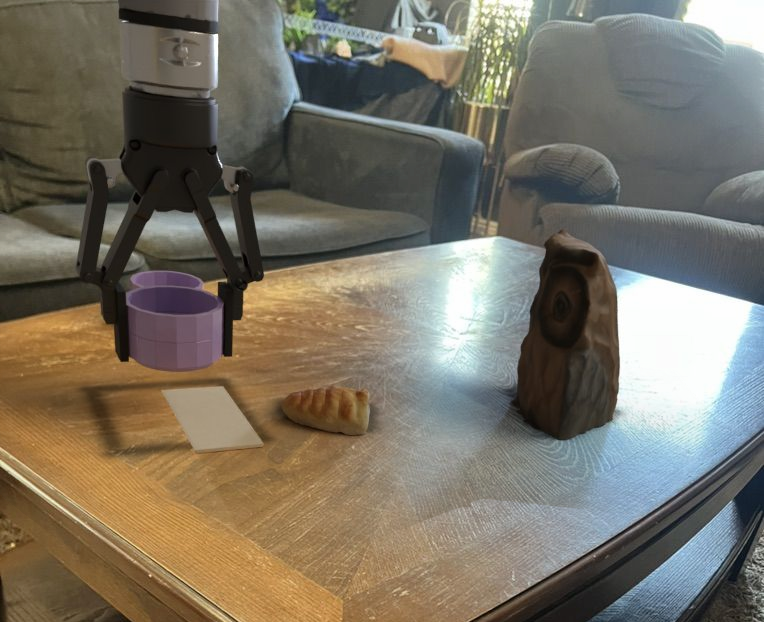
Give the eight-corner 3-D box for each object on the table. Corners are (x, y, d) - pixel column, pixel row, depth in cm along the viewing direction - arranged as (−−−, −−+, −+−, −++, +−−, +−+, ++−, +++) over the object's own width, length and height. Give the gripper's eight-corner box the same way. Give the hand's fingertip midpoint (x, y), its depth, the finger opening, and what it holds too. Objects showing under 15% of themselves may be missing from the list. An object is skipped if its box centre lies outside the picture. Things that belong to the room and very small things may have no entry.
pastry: (278, 429, 80) (281, 394, 78) (284, 402, 86) (286, 370, 84) (369, 438, 81) (374, 404, 79) (368, 411, 86) (372, 379, 84)
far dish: (139, 335, 97) (138, 292, 94) (126, 311, 104) (124, 270, 101) (211, 333, 101) (211, 291, 98) (193, 310, 107) (193, 270, 105)
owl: (561, 446, 85) (612, 261, 75) (471, 404, 92) (507, 229, 82) (618, 420, 93) (671, 251, 83) (532, 383, 100) (571, 222, 90)
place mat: (114, 461, 70) (114, 457, 70) (90, 397, 80) (90, 394, 80) (263, 446, 76) (263, 443, 76) (222, 389, 86) (223, 386, 86)
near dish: (136, 377, 69) (133, 317, 66) (117, 341, 76) (114, 285, 73) (234, 371, 73) (235, 314, 70) (208, 338, 80) (208, 284, 77)
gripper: (28, 80, 55) (58, 376, 67) (312, 107, 65) (295, 362, 76) (19, 70, 61) (47, 344, 73) (282, 96, 70) (270, 336, 82)
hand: (174, 353), depth 74 cm, fingers closed on near dish, 9 cm apart
